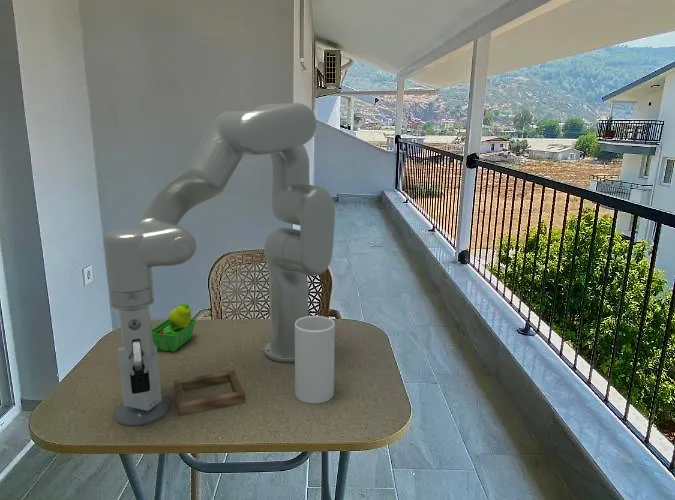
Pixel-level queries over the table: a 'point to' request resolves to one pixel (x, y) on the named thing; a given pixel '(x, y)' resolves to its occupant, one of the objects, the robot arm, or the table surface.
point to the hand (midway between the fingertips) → (140, 381)
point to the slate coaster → (140, 414)
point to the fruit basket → (174, 329)
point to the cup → (314, 359)
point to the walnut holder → (209, 402)
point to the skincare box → (154, 395)
